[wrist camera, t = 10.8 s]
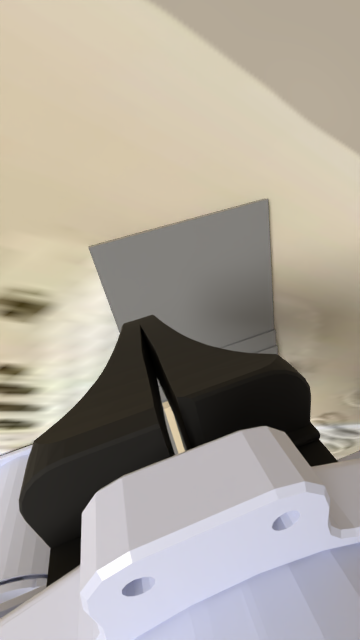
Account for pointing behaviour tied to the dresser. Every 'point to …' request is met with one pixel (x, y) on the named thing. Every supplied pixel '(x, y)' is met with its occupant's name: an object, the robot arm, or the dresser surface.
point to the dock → (196, 282)
